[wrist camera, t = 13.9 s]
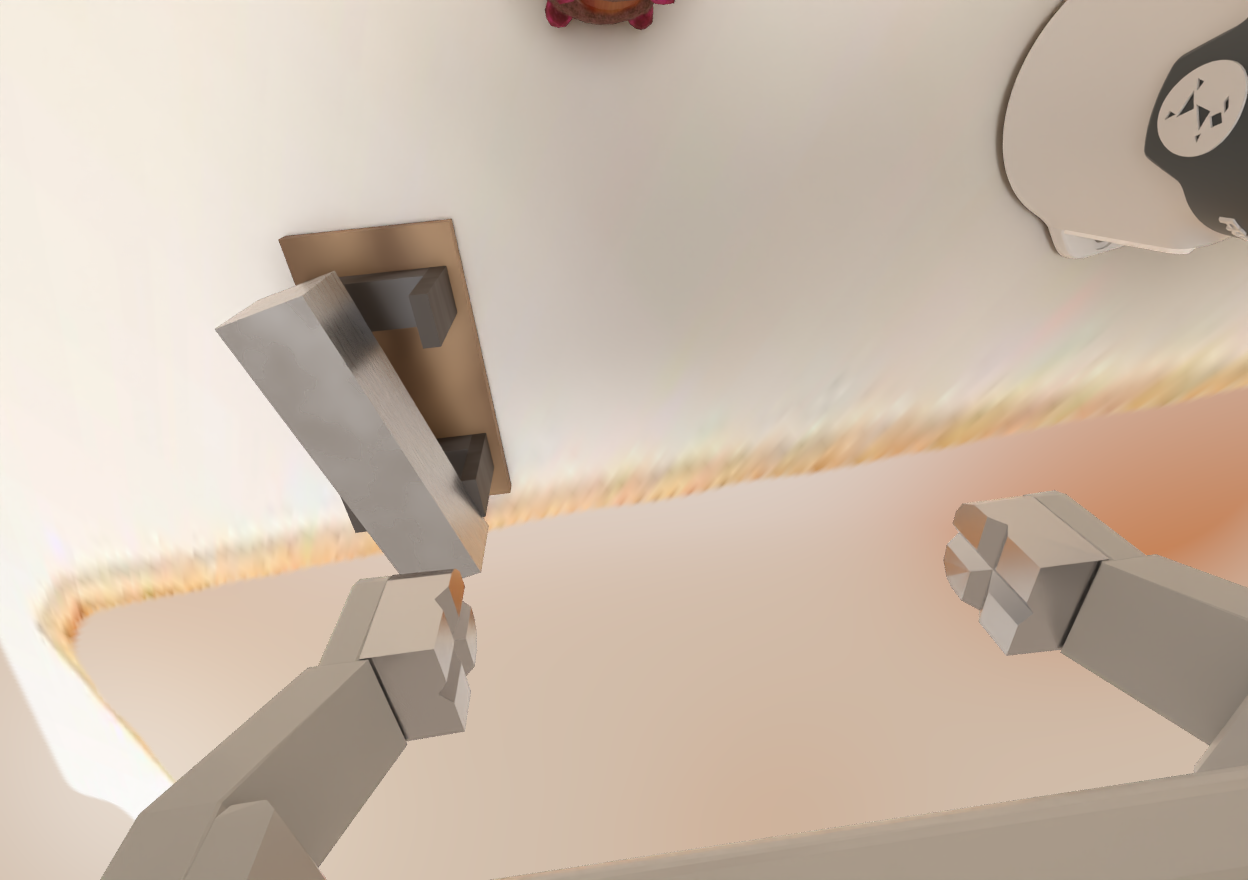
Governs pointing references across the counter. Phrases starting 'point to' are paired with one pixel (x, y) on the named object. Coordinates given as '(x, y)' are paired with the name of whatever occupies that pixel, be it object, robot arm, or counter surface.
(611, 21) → the mug
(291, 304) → the rail
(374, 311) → the stand
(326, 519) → the counter surface
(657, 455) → the counter surface
